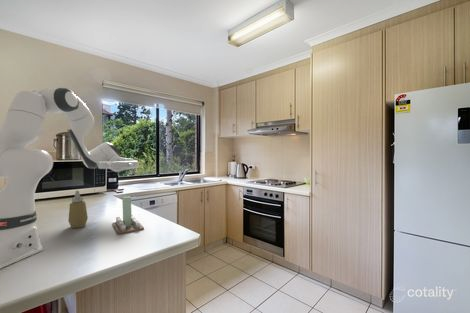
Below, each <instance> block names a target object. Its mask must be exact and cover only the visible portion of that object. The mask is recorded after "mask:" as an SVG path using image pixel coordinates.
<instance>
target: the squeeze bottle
mask: <svg viewBox="0 0 470 313" xmlns="http://www.w3.org/2000/svg"><path fill="white" fill-rule="evenodd" d="M88 219H89V216H88V211H87V204H86V202H85V200H84V197H82V196H81V194H80V191H79V190H76V191H75V193H74V197H73V198H71V203H69V210H68V220H67V222H68V223H69V226H70V228H71V229H77V228H78V229H79V228H83V227H84V226H86V224H87V221H88Z"/></svg>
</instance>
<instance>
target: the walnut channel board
mask: <svg viewBox="0 0 470 313" xmlns="http://www.w3.org/2000/svg"><path fill="white" fill-rule="evenodd" d="M131 216H132V226H128V227H126V226H125V224H124V223H123V219H121V217H120V216H117V217H115V221H114V222H112V223H111V224H112V226H113V228H114V230H115V232H116V234H117V236H120V235H124V234H130V233H134V232H138V231H143V230H145V227H144V226H143V225H142V223H140V221H139V220H138V219H137V218H136V217H135V216H134V215H133V214H131Z"/></svg>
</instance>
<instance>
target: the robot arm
mask: <svg viewBox="0 0 470 313" xmlns="http://www.w3.org/2000/svg"><path fill="white" fill-rule="evenodd" d="M47 114H48V115H57V114H63V115H64V116H65V119H67V121H68V123H69V125H70V128H69V130H68V134H69V136H70V138H71V140H72V143H73V144H74V147H75V149H76V150H77V153H78V154H79V156H80V158H81V160H82V163H83V165H84V166H85V167H86V168H88V169H97V168H98V169H100V170H102V169H103V170H106V169H107V170H108V169H109V170H111V171H113V172H115V173H117V172H119V173H120V172H123V171H128V170H134V169H138V168H139V167H140V163H139V161H138V160H136V159H134V158H132V157H131V158H129V157H122V156H121V154H120V151H119V149H118V148H117V147H116V146H115V145H114V144H113V143H111V142H107V141H104V142H103V143H101V144H99V145H98V146H96V147H94V148H92V149H91V150H89V151H88V149H87V147H86V145H85V143H84V139H85V137H86V135H87V134H88V133H89V132H90V131H91V130H92V129H93V127H94V125H95V117H94V115H93V113H92V112H91V110H90V109H89V107H88V106H87V105H86V103H85V102H84V101H83V100H82V99H81V98H80V97H79V96H78V95H77V94H76V93H75V92H74V91H73V90H72V89H70V88H66V87H58V88H42V89H38V90H21V91H18V92H17V93H16V94H15V95H14V97H13V98H12V100H11V102H10V103H9V106H8V108H7V111H6V113H5V117H4V120H3V123H2V125H1V127H0V179H6V183H5V185H4V187H3V188H2V189H1V190H0V269H3V268H6V267H7V266H9V265H12V264H14V263H16V262H19V261H22V260H23V259H26V258H28V257H31V256H33V255H35V254H37V253H40V252H43V250H44V247H43V246H42V243H41V239H40V235H39V229H38V227H37V222H36V221H37V216H38V215H37V210H35V208H36V207H35V197H36V190H37V187H38V185H39V182H40V181H41V179H42V178H44V177H45V176H46V175H47V174H49V173H50V171H51V170H52V169H53V167H54V159H53V157H52V155H51V154H50V153H49V152H48V151H47V150H44V149H38V148H32V147H29V148H28V146H30V145H32V143H34V142H36V141H38V140H39V139H40V138H41V134H42V130H43V127H44V122H45V119H46V117H45V116H46V115H47Z"/></svg>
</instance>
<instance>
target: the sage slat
mask: <svg viewBox="0 0 470 313" xmlns="http://www.w3.org/2000/svg"><path fill="white" fill-rule="evenodd" d="M121 198H122V221H123V223H124V224H125V226H126V227H128V226H132V216H131V215H132V197H131V196H130V195H125V196H122V197H121Z"/></svg>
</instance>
